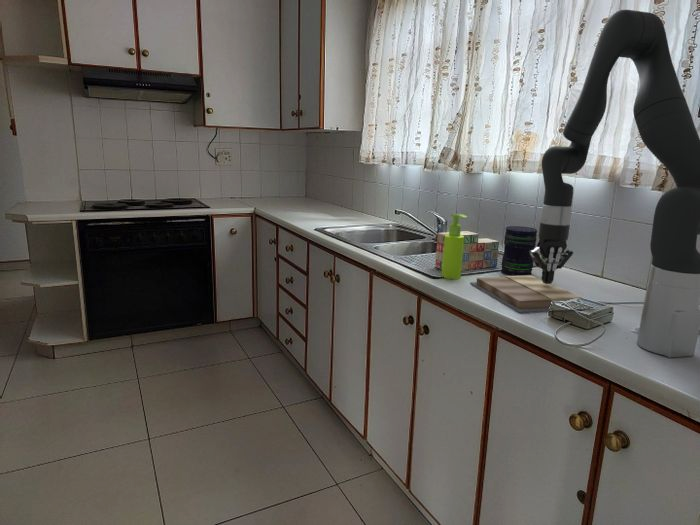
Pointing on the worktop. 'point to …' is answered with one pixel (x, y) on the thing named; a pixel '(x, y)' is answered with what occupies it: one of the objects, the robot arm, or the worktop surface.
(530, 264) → the storage jar
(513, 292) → the walnut plank
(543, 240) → the robot arm
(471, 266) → the stack of blocks
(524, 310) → the underlay mat
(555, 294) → the oak plank
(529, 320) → the worktop surface
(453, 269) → the soap dispenser
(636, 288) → the worktop surface
